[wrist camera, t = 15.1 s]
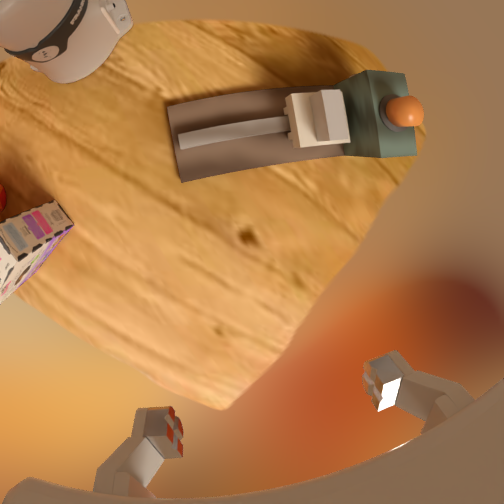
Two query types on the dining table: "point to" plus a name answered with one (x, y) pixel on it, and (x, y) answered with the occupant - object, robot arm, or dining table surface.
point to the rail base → (241, 146)
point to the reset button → (405, 111)
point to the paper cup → (2, 198)
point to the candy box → (29, 243)
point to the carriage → (317, 118)
